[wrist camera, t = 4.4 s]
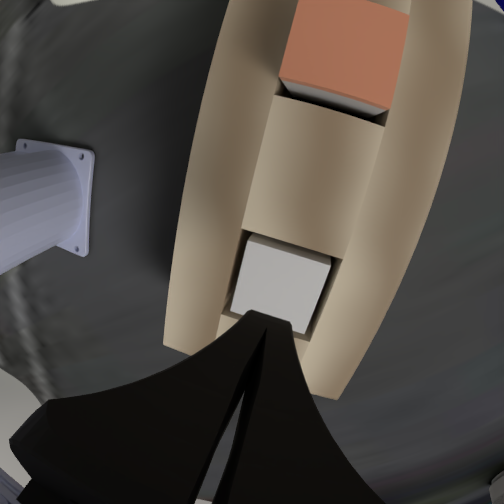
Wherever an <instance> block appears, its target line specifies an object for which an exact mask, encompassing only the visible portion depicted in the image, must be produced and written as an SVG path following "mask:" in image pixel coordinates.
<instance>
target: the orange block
mask: <svg viewBox="0 0 504 504" xmlns="http://www.w3.org/2000/svg"><path fill="white" fill-rule="evenodd" d="M409 16H410V15H408V14H405V13H402V12H400V11H397V10H394V9H391V8H389V7H386V6H383V5H380V4H377V3H373V2H370V1H367V0H299V1H298V4H297V8H296V12H295V15H294V19H293V23H292V27H291V30H290V34H289V38H288V42H287V45H286V49H285V53H284V57H283V61H282V65H281V68H280V72H279V78H280V79H281V80H282V82H283V83H284V85H285V86H286V88H287V89H288V91H289V92H290V94H291V95H292V96H293V97H297V98H301V99H305V100H309V101H312V102H316V103H320V104H323V105H327V106H330V107H334V108H337V109H340V110H344V111H347V112H350V113H353V114H356V115H359V116H362V117H365V118H371V117H373V116H375V115H377V114H380V113H382V112H384V111H386V110H388V109H390V108H391V104H392V100H393V96H394V92H395V87H396V83H397V79H398V74H399V69H400V65H401V60H402V55H403V50H404V45H405V39H406V34H407V28H408V22H409Z"/></svg>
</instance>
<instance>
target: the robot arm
mask: <svg viewBox="0 0 504 504" xmlns="http://www.w3.org/2000/svg"><path fill="white" fill-rule="evenodd" d="M83 154H84V159H83V157H82V155H83ZM94 160H95V155H94V152H93V151H91V150H88V149H82V148H77V147H71V146H66V145H60V144H54V143H48V142H42V141H35V140H29V139H18V140H17V143H16V151H13V152H7V153H2V154H0V275H1V274H3V273H4V272H6V271H8V270H10V269H11V268H13V267H15V266H17V265H19V264H21V263H22V262H24V261H26V260H28V259H30V258H32V257H34V256H35V255H37V254H39V253H41V252H43V251H45V250H47V249H49V248H51V247H53V246H55V245H56V246H58V247H61V248H63V249H65V250H68V251H70V252H72V253H75V254H77V255H79V256H82V257H84V256H86V255H88V252H89V222H90V204H91V190H92V179H93V169H94ZM77 246H78V247H77ZM78 248H79V249H78ZM244 391H245V393H244ZM243 393H244V397H243V401H242V406H241V410H240V414H239V419H238V423H237V427H236V432H235V436H234V440H233V444H232V448H231V452H230V455H229V458H228V461H227V464H226V467H225V469H224V472H223V475H222V478H221V480H220V483H219V486H218V488H217V491H216V494H215V496H214V499H213V502H212V504H385V503H384V502H383V500H382V499H381V498H380V497H379V496H378V495H377V494H376V493H375V492H374V491H373V490H372V489H371V488H370V487H369V486H368V485H367V484H366V483H365V482H364V480H363V479H362V478H361V477H360V475H359V474H358V473H357V472H356V470H355V469H354V468H353V467H352V465H351V464H350V463H349V461H348V460H347V458H346V457H345V455H344V454H343V452H342V451H341V449H340V448H339V446H338V445H337V443H336V442H335V440H334V439H333V437H332V436H331V434H330V432H329V430H328V428H327V427H326V425H325V423H324V421H323V419H322V417H321V415H320V413H319V411H318V409H317V407H316V405H315V403H314V400H313V398H312V396H311V393H310V390H309V388H308V385H307V383H306V380H305V377H304V374H303V371H302V368H301V364H300V361H299V358H298V354H297V350H296V346H295V342H294V336H293V330H292V325H291V323H290V321H287V320H283V319H280V318H277V317H274V316H271V315H268V314H264V313H261V312H258V311H255V310H252V309H251V310H248V311H247V312H246V313H245V314H244V315H243V316H242V317H241V318H240V319H239V320H238V321H237V322H236V323H235V324H234V325H233V326H232V327H231V328H230V329H228V330H227V331H226V332H225V333H223V334H222V335H221V336H219V337H218V338H217V339H216V340H214V341H213V342H212V343H210V344H209V345H207V346H206V347H204V348H203V349H201V350H200V351H198V352H196V353H195V354H193V355H192V356H190V357H188V358H187V359H185V360H183V361H181V362H179V363H177V364H175V365H173V366H171V367H169V368H167V369H165V370H163V371H161V372H158V373H156V374H154V375H151V376H149V377H146V378H144V379H141V380H139V381H136V382H133V383H130V384H126V385H123V386H119V387H116V388H112V389H109V390H105V391H101V392H97V393H92V394H87V395H81V396H74V397H67V398H60V399H50V400H48V401H47V402H46V403H45V404H43V405H42V406H41V407H40V408H38V409H37V410H36V411H35V412H34V413H33V414H32V415H31V416H30V417H29V418H28V419H27V420H26V421H25V422H24V423H23V425H22V426H21V427H20V428H19V429H18V430H17V431H16V432H15V434H14V435H13V436H12V437H11V438H10V439H9V443H10V448H11V450H12V452H13V454H14V455H15V457H16V458H17V459H18V461H19V462H20V464H21V465H22V466H23V467H24V469H25V470H26V471H27V472H28V474H29V475H30V476H31V478H32V479H31V480H30V481H29V483H28V484H27V485H26V487H25V488H23V487H22V486H21V485H20V484H19V483H18V482H16V481H15V480H14V479H13V478H12V477H10V476H9V475H8V474H7V473H6V472H4V470H2V469H1V468H0V504H194V503H195V501H196V498H197V496H198V493H199V491H200V488H201V486H202V483H203V481H204V478H205V476H206V473H207V471H208V468H209V466H210V463H211V460H212V458H213V455H214V453H215V451H216V448H217V446H218V444H219V442H220V440H221V438H222V436H223V434H224V432H225V430H226V428H227V426H228V424H229V422H230V420H231V418H232V416H233V414H234V412H235V410H236V408H237V406H238V403H239V401H240V399H241V397H242V395H243Z"/></svg>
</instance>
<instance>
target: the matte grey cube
mask: <svg viewBox="0 0 504 504" xmlns="http://www.w3.org/2000/svg"><path fill="white" fill-rule="evenodd" d="M330 267H331V258H330V255H327V254H324V253H321V252H318V251H314V250H311V249H308V248H305V247H302V246H298V245H295V244H292V243H288V242H285V241H282V240H279V239H275V238H272V237H269V236H265V235H262V234H259V233H255V232H253V234H252V235H251V236H250V238H249V239H248V241H247V245H246V249H245V253H244V257H243V261H242V265H241V269H240V273H239V277H238V281H237V285H236V290H235V294H234V298H233V302H232V306H231V310H230V311H232V312H235V313H238V314H241V315H244V314H245V313H246V312H247V311H248V310H251V309H252V310H255V311H258V312H261V313H264V314H268V315H271V316H274V317H277V318H280V319H283V320H287V321H290V323H291V325H292V330H293V331H295V332H299V333H302V334H305V331H306V329H307V326H308V324H309V321H310V319H311V316H312V314H313V311H314V309H315V306H316V304H317V301H318V299H319V296H320V294H321V291H322V288H323V286H324V283H325V280H326V278H327V275H328V272H329V270H330Z"/></svg>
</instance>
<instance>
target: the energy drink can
mask: <svg viewBox="0 0 504 504" xmlns="http://www.w3.org/2000/svg"><path fill="white" fill-rule="evenodd" d="M491 483H492V485H491V486H490V488H489V491H490V496H491V500H492V504H504V471H502V472H501V473H499V474H498V475H497V476H496V477H495V478H494V479H493V480H492V482H491Z"/></svg>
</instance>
